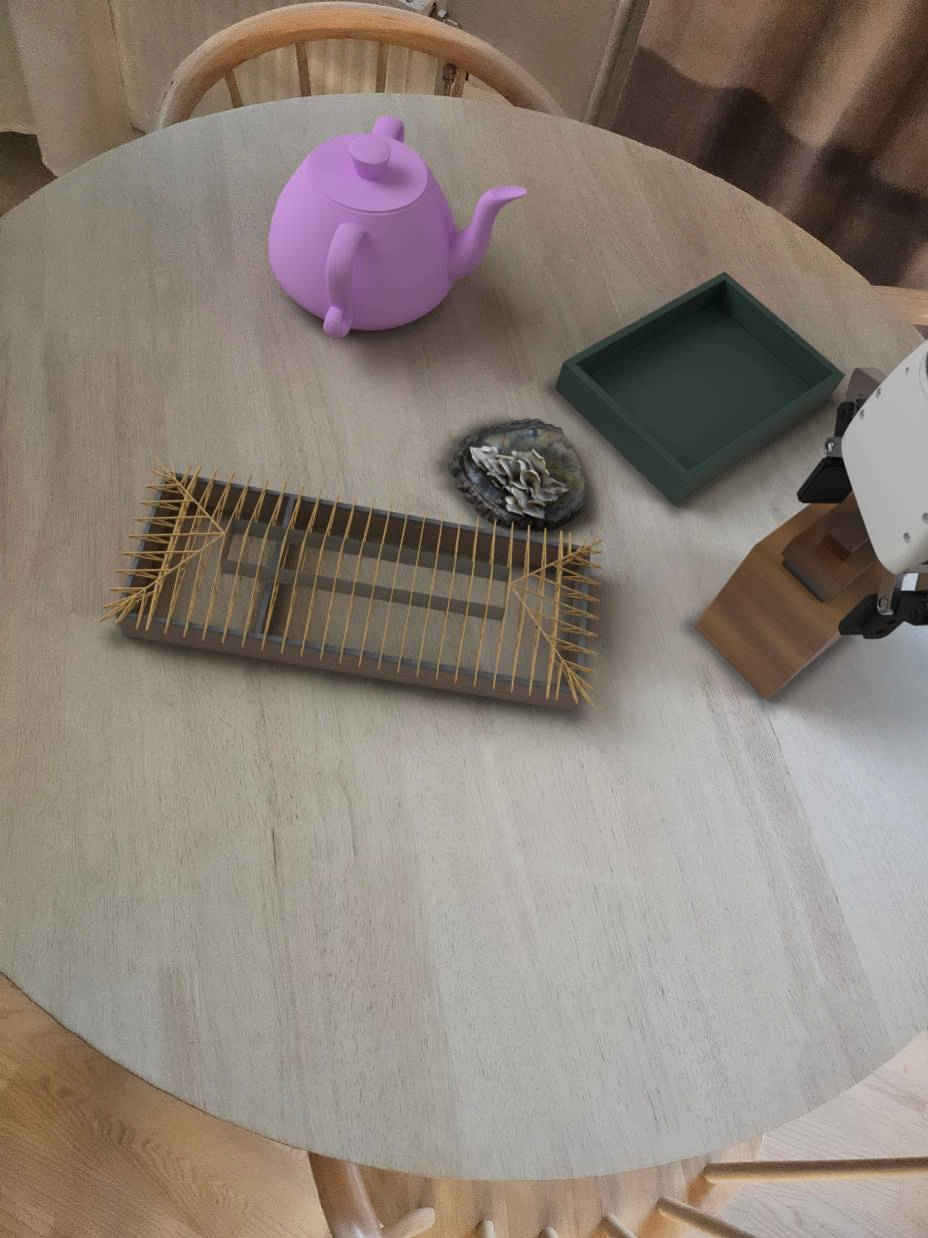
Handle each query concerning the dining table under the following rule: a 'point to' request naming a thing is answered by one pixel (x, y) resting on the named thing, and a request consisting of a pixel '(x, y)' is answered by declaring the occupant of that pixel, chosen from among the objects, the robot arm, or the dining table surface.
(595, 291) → the dining table surface
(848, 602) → the stand
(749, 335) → the tray
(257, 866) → the dining table surface
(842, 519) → the brush
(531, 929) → the dining table surface
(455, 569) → the rafter model
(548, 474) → the log
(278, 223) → the teapot
